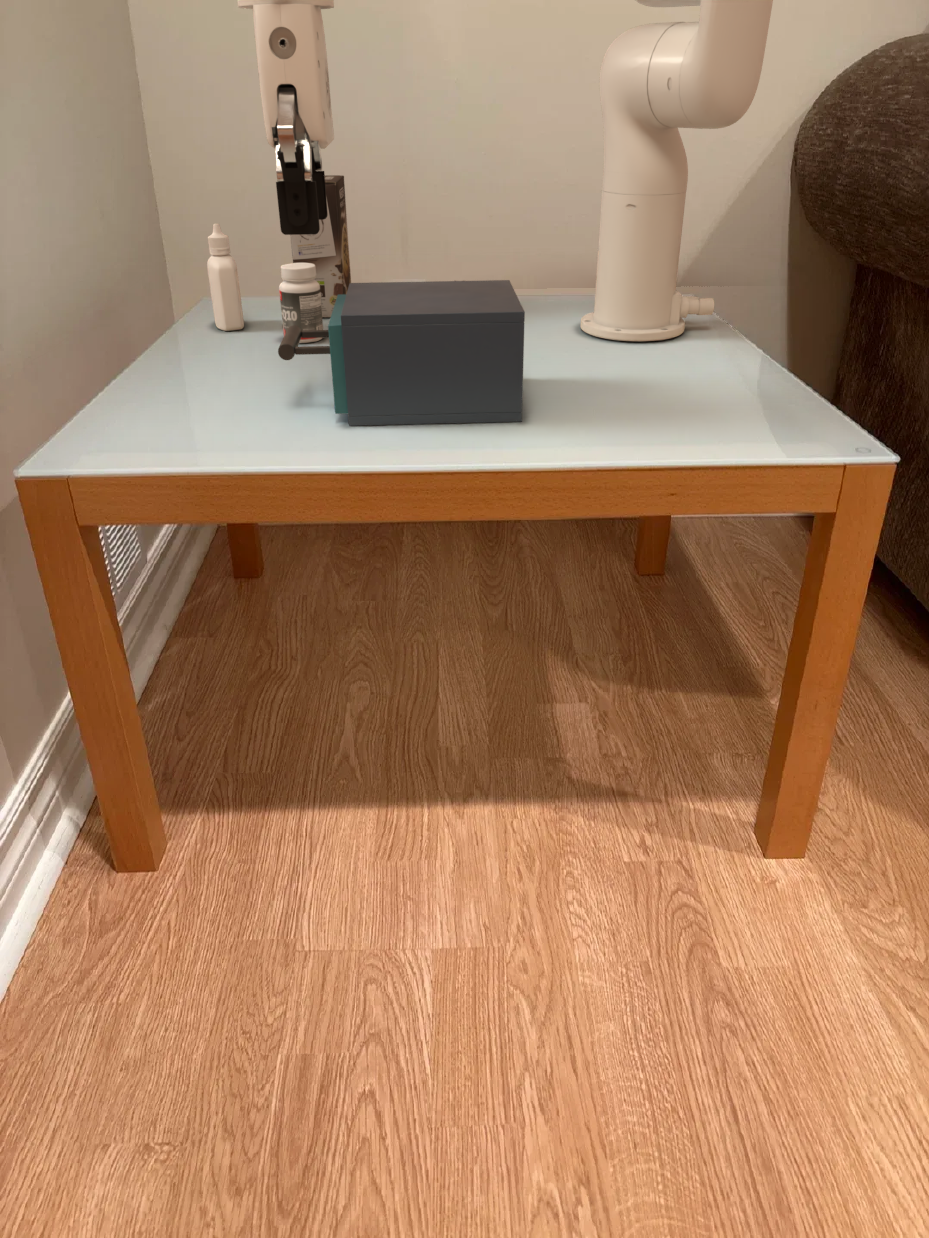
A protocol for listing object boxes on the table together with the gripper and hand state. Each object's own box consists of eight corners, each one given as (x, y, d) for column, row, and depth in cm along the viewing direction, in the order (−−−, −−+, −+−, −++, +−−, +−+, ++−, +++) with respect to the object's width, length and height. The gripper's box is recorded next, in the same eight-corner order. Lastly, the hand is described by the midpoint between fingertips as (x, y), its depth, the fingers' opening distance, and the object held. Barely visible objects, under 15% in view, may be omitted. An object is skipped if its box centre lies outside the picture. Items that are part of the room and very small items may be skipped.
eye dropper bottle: (253, 321, 118) (241, 220, 112) (239, 332, 113) (226, 227, 107) (220, 320, 118) (206, 220, 112) (205, 331, 114) (190, 227, 108)
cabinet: (348, 426, 83) (340, 315, 78) (356, 381, 95) (349, 282, 90) (521, 421, 84) (524, 311, 79) (507, 378, 96) (509, 280, 91)
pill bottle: (277, 338, 111) (269, 265, 106) (311, 332, 113) (305, 260, 109) (296, 346, 107) (288, 271, 103) (331, 339, 110) (325, 266, 106)
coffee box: (346, 318, 119) (336, 181, 111) (296, 318, 119) (283, 182, 111) (354, 303, 127) (345, 174, 119) (307, 303, 127) (296, 174, 119)
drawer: (280, 415, 83) (270, 326, 79) (294, 375, 94) (286, 295, 90) (495, 410, 84) (496, 322, 80) (485, 371, 95) (485, 291, 91)
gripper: (323, -24, 65) (342, 241, 74) (339, -7, 79) (353, 212, 88) (216, -23, 64) (248, 243, 73) (252, -6, 79) (275, 213, 88)
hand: (305, 225), depth 81 cm, fingers open, 8 cm apart
